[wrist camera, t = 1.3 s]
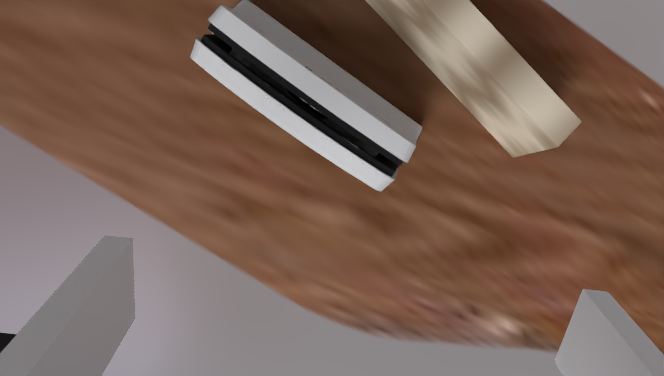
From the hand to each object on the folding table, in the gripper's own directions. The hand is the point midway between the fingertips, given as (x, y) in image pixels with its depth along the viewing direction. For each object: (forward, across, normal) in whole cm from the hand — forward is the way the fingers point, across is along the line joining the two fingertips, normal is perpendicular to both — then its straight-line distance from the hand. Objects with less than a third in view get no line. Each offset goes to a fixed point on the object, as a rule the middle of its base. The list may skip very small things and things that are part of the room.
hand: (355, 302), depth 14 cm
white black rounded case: (+25, -3, 0) cm, 25 cm away
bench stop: (+28, +5, +6) cm, 29 cm away
